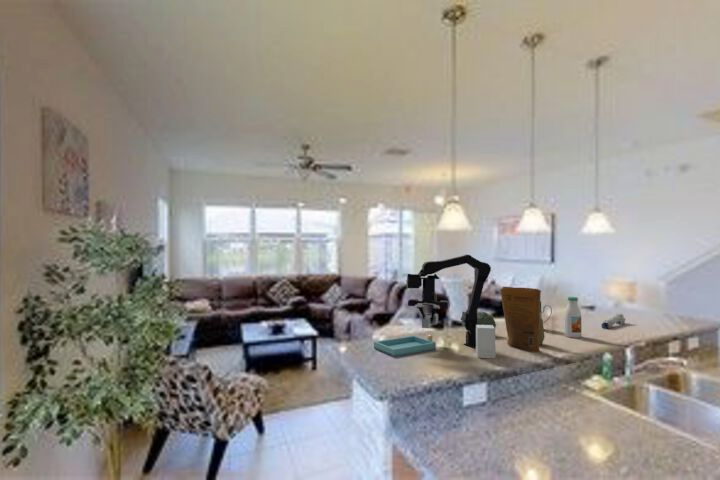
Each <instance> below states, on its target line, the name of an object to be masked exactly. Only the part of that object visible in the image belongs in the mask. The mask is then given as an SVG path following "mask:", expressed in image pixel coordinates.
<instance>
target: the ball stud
mask: <svg viewBox="0 0 720 480" xmlns="http://www.w3.org/2000/svg"><path fill="white" fill-rule="evenodd" d="M427 340H429V341H432V342H433V336H432V335H431V334H429V335H428V336H427Z"/></svg>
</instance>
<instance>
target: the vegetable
mask: <svg viewBox="0 0 720 480" xmlns="http://www.w3.org/2000/svg"><path fill="white" fill-rule="evenodd" d="M477 318H478V320H477V325H493V326H494V328H495V329H496V326H497V323H496V321H495V319H494V317H493V316H492V314H489V313H487V312H484V311H482V312H477Z"/></svg>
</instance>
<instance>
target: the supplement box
mask: <svg viewBox="0 0 720 480" xmlns="http://www.w3.org/2000/svg"><path fill="white" fill-rule="evenodd" d="M475 354H476V357H477V358H479V359H481V358H482V359H486V358H487V359H496V328H494V326H493V325H476V347H475Z"/></svg>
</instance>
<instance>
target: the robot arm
mask: <svg viewBox="0 0 720 480" xmlns="http://www.w3.org/2000/svg"><path fill="white" fill-rule="evenodd" d="M465 264H467V266H469V267H471V268H473V269H474V272H473V274H474V282H473V287H472V290H471V293H470V299H469V303H468V306H467V308H466V310H465V311H462V312H461V314H462V315H461V317H460V320H461V325H462V327H464V328H465V330H466V332H465V343H463V345H464V346H467V347H470V348H476V325H477V320H478V318H477V313H478V309H479V305H480V301H481V297H482V293H483V289H484V284H485V282H486V281H487V280H488V278H489V276H490V274H491V271H492V267H491V266H490V264H489V263H487V262H484V261H480V260H478V259H476V258H475V257H473V256H472V255H470V254H463V255H461V256H456V257H451V258H447V259H442V260H431V261H429V260H427V261H424V262H423V264H422V266H421V269H420V271H419V272H418V273H417V274H415V273H414V274H413V273H407V274H406V276H407V277H406V280H405V281H406V289H420V288H421V287H422V292H421V293H422V294H421V298H422V300H419V299H418V298H410V299H408V301H407V306H408V307H415V306H416V309H418V310H419V312H420V314H421V317H422V318H424V317H425V316H426V315H425V313H426V306H432V308H431V313H432V316H431V322H433V320H434V317H435V314H437V311H438V310H439V309H449V308H450V304H451V303H450V301H449V300H442V299H441V300H440V301H437V300H438V298H437V297H438V295H437V294H436V280H439V279H440V277H439V276H438V275H437V274H436V273H438V272H440V271H441V270H444V269H448V268H452V267H457V266H461V265H465Z"/></svg>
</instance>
